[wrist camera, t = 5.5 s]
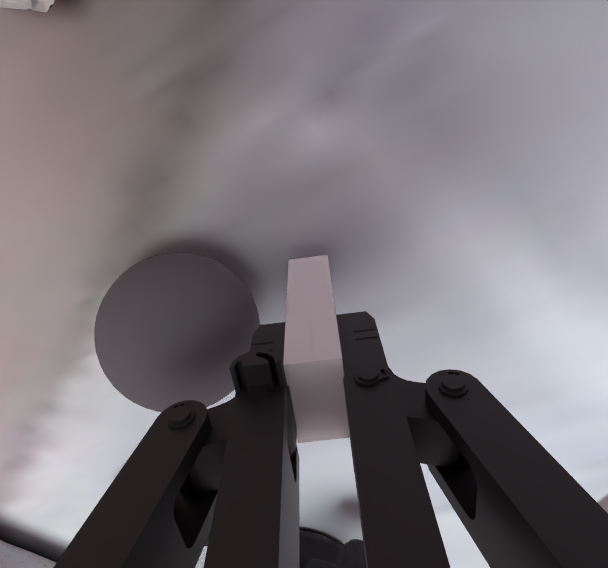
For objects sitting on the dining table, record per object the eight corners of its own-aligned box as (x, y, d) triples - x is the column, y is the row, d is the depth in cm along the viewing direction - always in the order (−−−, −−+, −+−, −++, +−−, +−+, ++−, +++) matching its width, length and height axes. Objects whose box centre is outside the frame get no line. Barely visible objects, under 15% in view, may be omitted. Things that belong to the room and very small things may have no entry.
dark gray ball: (100, 343, 12) (40, 284, 16) (179, 479, 15) (112, 400, 19) (268, 242, 15) (181, 214, 19) (306, 373, 18) (224, 324, 22)
